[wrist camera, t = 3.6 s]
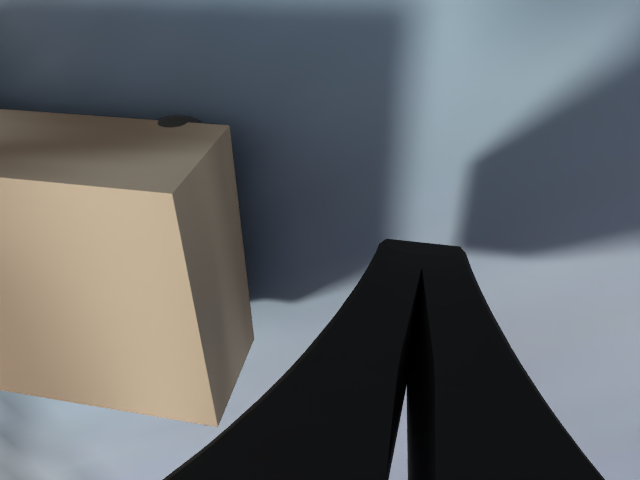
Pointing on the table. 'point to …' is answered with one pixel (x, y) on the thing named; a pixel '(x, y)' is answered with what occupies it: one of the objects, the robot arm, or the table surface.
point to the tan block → (121, 263)
